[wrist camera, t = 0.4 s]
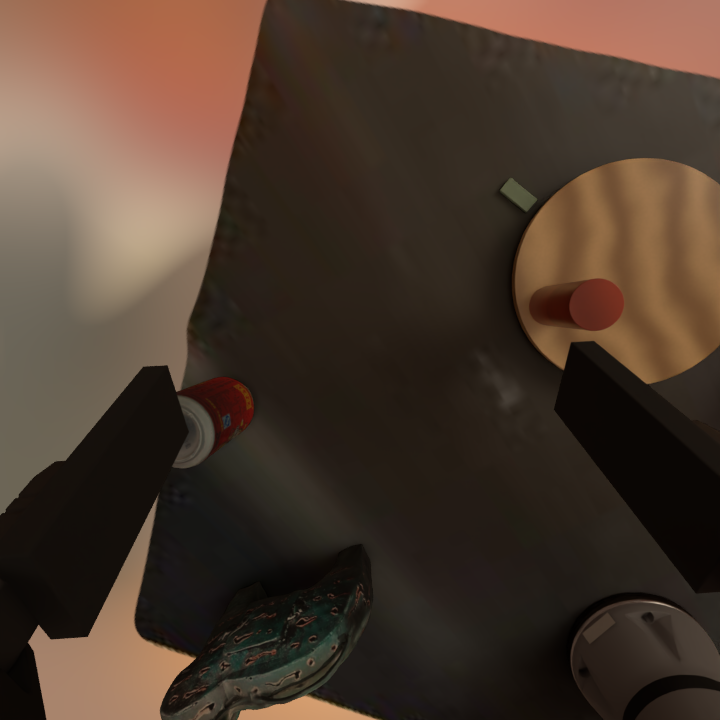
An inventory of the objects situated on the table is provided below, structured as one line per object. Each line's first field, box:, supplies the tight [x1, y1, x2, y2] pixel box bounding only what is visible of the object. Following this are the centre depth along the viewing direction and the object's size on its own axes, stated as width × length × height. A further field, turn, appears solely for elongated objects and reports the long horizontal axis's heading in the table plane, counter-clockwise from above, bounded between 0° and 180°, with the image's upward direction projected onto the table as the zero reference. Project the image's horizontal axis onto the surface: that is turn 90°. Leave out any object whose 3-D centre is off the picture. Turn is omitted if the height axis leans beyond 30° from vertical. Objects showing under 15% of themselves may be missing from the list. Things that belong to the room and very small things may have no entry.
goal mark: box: [499, 178, 537, 213], centre depth 41 cm, size 4×2×1 cm, turn 51°
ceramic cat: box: [160, 544, 373, 720], centre depth 40 cm, size 20×6×20 cm, turn 115°
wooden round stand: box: [512, 158, 720, 384], centre depth 35 cm, size 22×22×11 cm
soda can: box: [172, 377, 254, 468], centre depth 42 cm, size 7×7×12 cm
